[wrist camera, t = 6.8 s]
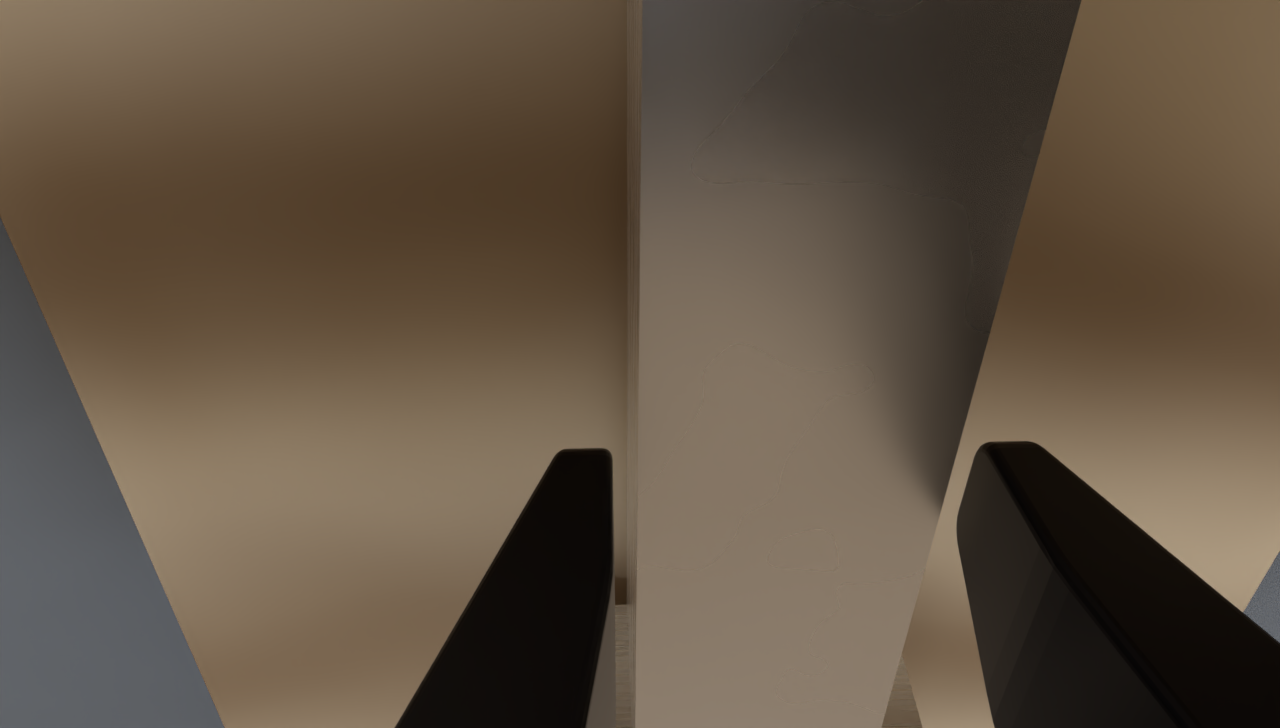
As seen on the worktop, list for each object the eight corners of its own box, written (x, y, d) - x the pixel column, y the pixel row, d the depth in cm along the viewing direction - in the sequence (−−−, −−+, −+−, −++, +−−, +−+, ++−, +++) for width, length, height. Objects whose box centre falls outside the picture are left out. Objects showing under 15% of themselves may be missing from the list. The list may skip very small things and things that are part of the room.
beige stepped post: (851, 739, 15) (891, 923, 13) (569, 749, 15) (567, 936, 13) (1284, -1021, 5) (1711, -1344, 3) (458, -1044, 5) (383, -1407, 3)
